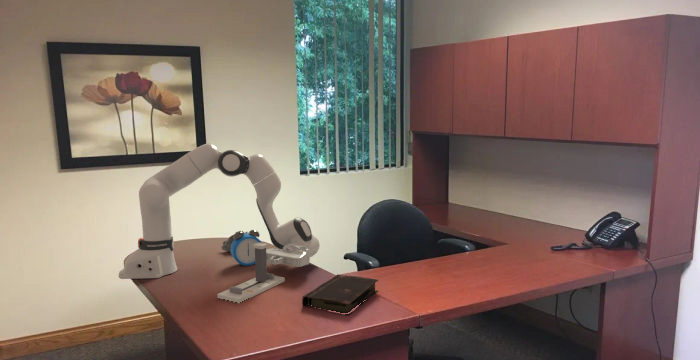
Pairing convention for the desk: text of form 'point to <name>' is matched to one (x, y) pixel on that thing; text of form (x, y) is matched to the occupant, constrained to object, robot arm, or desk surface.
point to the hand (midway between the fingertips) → (271, 262)
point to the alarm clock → (244, 247)
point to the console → (250, 288)
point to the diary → (341, 293)
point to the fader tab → (260, 261)
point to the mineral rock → (228, 243)
